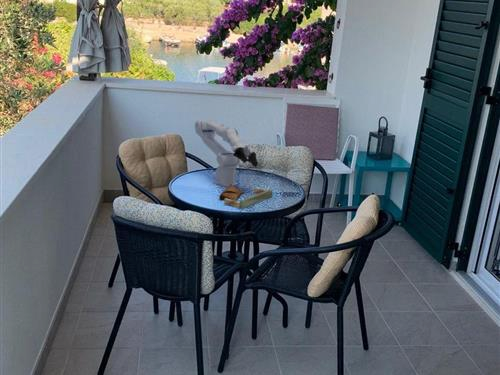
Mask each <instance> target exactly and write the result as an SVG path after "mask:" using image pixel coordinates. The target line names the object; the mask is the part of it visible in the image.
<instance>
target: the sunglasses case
mask: <svg viewBox="0 0 500 375" xmlns="http://www.w3.org/2000/svg"><path fill="white" fill-rule="evenodd" d="M244 193H245V191H244V190H242V189H241V188H238V187H236V186H235V185H234V186H233V185H232V184H230V185H229V186H228V187H227V186H226V188H225V189H224V190H223V191H222V192H221V194H220V195H219V201H223V202H224V199H226V198H227V199H230V200H234V201H238V200H239V198H240V197H241V196H242V195H243V194H244Z"/></svg>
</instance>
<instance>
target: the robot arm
mask: <svg viewBox="0 0 500 375" xmlns="http://www.w3.org/2000/svg"><path fill="white" fill-rule="evenodd" d="M194 129H195V130H194V131H195V133H196V134H197V135H198V136H199V137H200V138H201V140H202V141H203V143H204V145H206V147H208V148H209V149H210V150H211V151H212V152H213V154H215V156H216V162H217V163H218V166H217V168H216V171H215V182H214V184H216V185H219V186H223V187H226V188H227V187H228V186H229V185H230V184H232V185H233V186H234V187H235V186H237V185H238V184H239V183H238V182H236V170H237V168H238V166H239V164H240V161H241V162H242V163H244V164H246V163H247V162H248V163H250V164H251V165H252V166H253V167H255V168H256V167H257V166H258V165H259V163H258V159H257V153H256V152H254V151H251V150H250V149H249V147H250V146H249V145H248V144H245V143H244V142H243V141H242V139H241V138H240V136H239V134H238V130H237V129H236V128H235V127H234V128H230V127H229V126H225V124H224V123H221V124H218V123H216V121H215V120H212V119H211V120H196V121H195V123H194ZM216 135H217V136H219V137H220V138H222V140H223V141H224V142H226V144H227V143H228V144H229V146H230V147H231V148H230V149H231V151H229V150H227V148H225V147H224V146H223V145H222V144H221V143H220V142H218V140H217V139H215V137H216Z"/></svg>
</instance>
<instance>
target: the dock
mask: <svg viewBox="0 0 500 375" xmlns="http://www.w3.org/2000/svg"><path fill="white" fill-rule="evenodd" d="M273 191H274V190H273V189H263V188H259V187H253V194H254V195H252V196H250V197H247V198H244V199H241V200H240V201H238V200H237V201H234V200H230V199H227V198H226V199H224V201H223V205H226V206H230V207H233V208H237V209H240V210H244V209H246V208H249V207H251V206H254V205H256V204H258V203H261V202H263V201H265V200H268V199H270V198H273Z"/></svg>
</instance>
